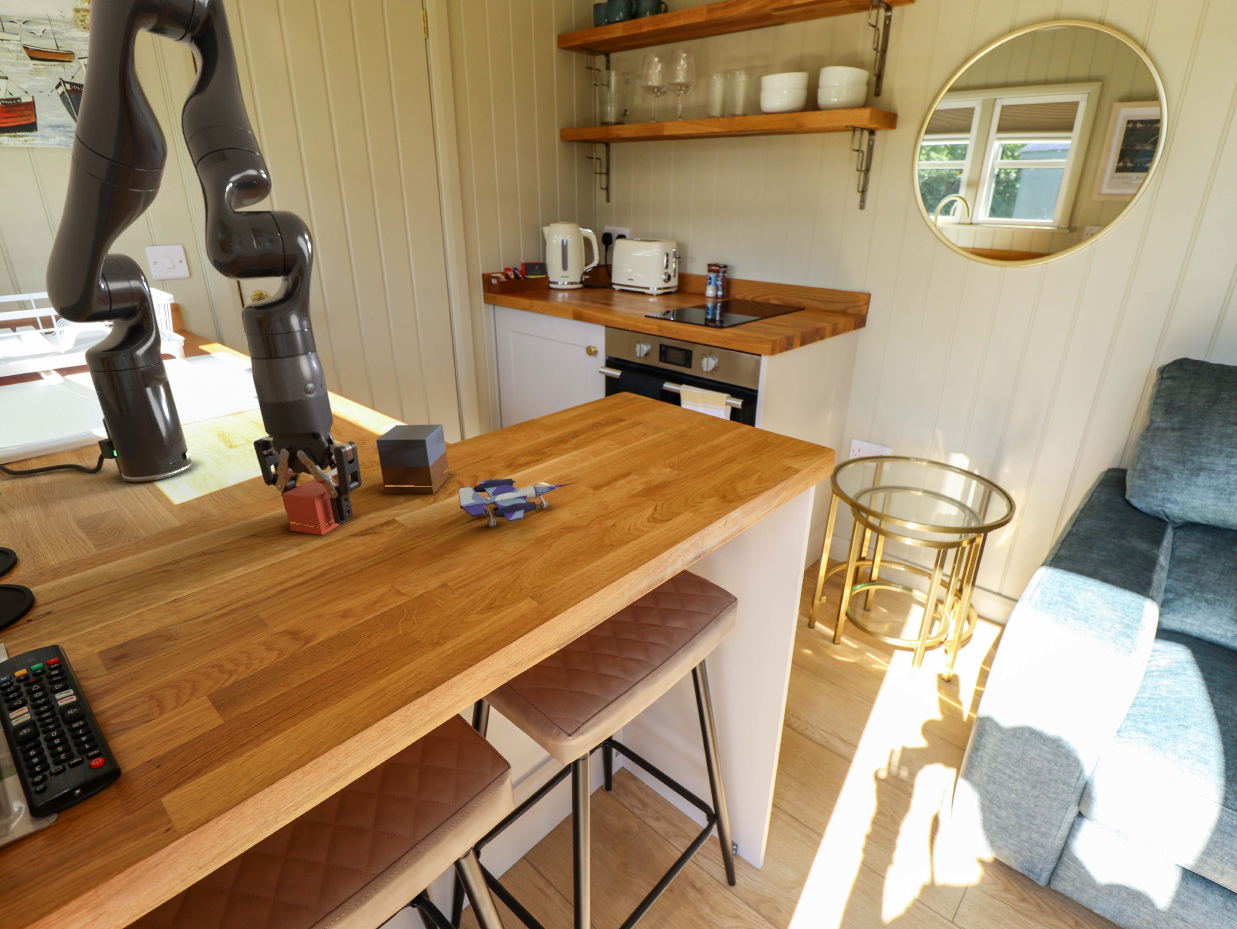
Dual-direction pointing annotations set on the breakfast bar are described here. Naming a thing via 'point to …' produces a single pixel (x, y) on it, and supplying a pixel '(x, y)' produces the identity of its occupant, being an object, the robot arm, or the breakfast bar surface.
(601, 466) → the breakfast bar surface
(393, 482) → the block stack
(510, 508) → the toy airplane
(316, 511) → the toy block
